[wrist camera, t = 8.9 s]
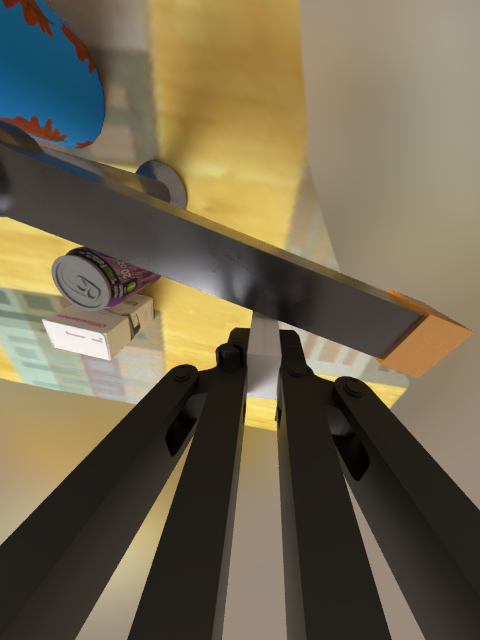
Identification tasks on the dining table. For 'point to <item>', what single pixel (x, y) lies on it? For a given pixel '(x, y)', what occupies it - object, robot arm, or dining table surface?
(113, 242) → the swing bar
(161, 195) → the post
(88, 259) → the beverage can
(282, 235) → the dining table surface
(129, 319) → the ink box
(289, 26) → the dining table surface
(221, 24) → the dining table surface
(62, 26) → the thermos
